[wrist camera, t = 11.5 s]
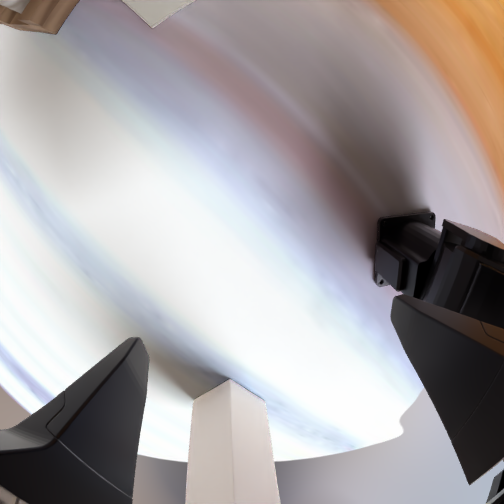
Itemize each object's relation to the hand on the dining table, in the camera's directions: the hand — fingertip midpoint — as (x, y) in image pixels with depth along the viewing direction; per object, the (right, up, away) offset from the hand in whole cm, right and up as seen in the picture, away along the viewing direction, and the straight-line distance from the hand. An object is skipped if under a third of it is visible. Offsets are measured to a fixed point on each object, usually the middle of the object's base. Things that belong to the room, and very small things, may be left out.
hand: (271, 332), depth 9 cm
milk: (-3, -14, +20) cm, 24 cm away
